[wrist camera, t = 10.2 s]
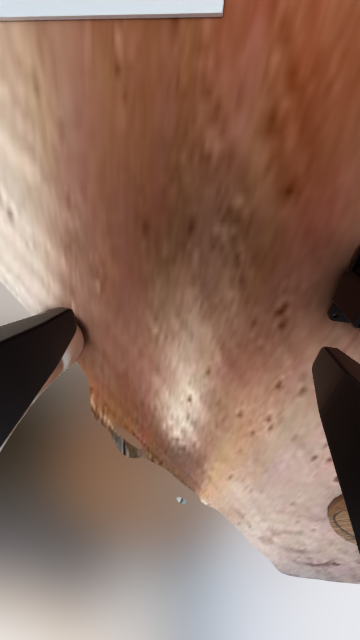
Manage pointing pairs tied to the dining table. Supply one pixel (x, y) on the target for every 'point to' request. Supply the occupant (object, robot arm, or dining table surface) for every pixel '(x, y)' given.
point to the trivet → (341, 519)
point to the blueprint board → (107, 9)
